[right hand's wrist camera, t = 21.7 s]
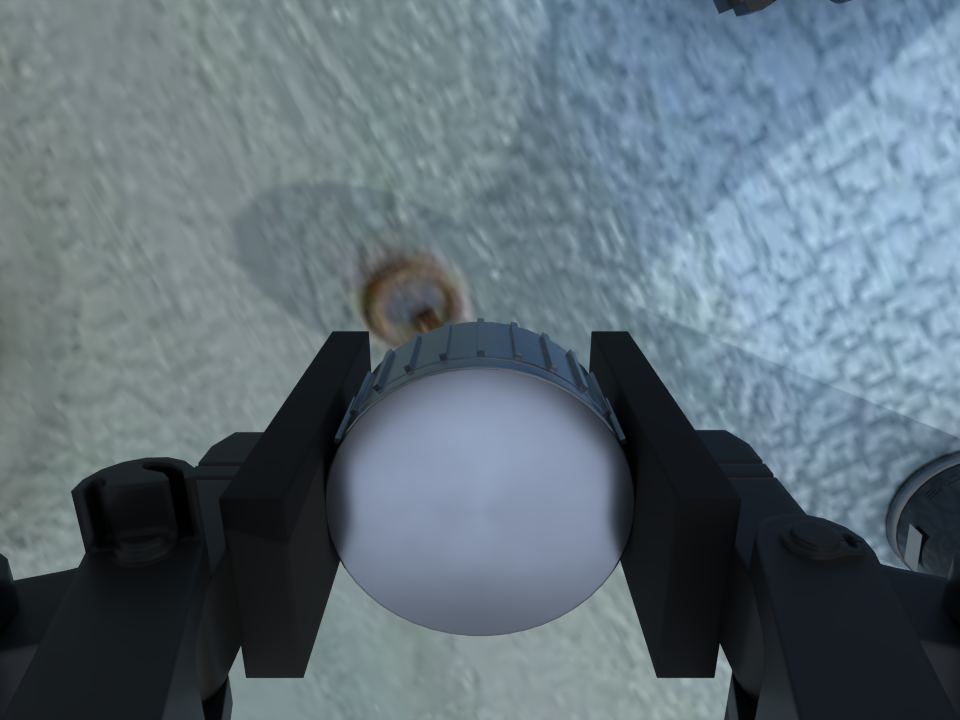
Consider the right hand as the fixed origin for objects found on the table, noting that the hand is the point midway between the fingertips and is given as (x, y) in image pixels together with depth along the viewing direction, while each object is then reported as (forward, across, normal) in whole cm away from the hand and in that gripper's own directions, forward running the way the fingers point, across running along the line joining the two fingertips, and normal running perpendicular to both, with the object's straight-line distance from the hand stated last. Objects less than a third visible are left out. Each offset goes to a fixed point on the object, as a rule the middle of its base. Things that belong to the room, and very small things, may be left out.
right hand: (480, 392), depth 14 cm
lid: (-4, 0, 0) cm, 4 cm away
